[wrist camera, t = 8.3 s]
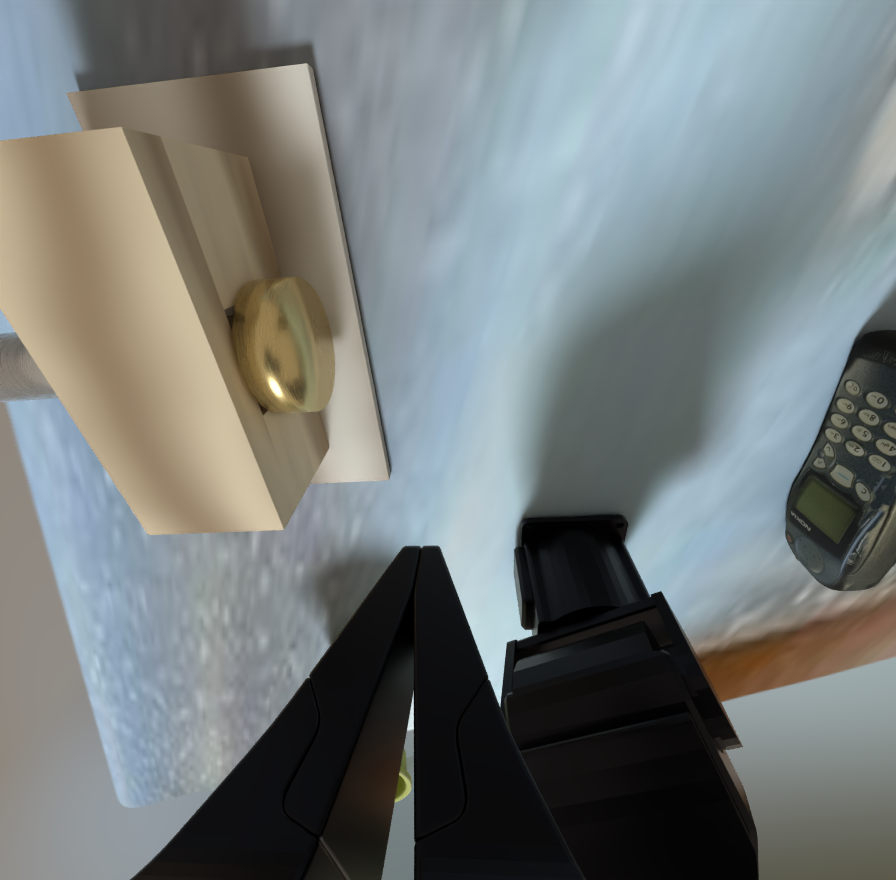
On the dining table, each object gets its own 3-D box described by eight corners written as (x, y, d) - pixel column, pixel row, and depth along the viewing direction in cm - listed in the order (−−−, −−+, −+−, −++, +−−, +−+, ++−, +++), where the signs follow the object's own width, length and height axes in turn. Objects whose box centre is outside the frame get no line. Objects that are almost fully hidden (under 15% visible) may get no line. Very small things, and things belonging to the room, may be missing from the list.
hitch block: (313, 68, 14) (198, -38, 8) (390, 474, 23) (365, 567, 17) (80, 97, 14) (-190, 18, 8) (246, 480, 24) (173, 573, 18)
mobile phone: (958, 362, 14) (823, 625, 21) (1053, 352, 14) (883, 621, 21) (841, 329, 18) (762, 557, 25) (911, 320, 18) (811, 553, 25)
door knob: (316, 267, 16) (261, 290, 12) (342, 382, 19) (306, 434, 15) (-19, 296, 17) (-185, 326, 13) (50, 400, 20) (-67, 455, 16)
